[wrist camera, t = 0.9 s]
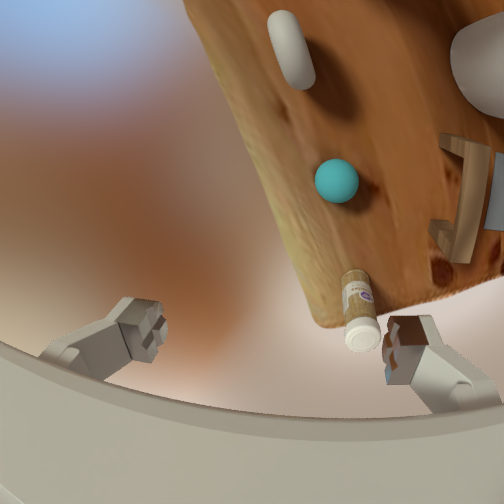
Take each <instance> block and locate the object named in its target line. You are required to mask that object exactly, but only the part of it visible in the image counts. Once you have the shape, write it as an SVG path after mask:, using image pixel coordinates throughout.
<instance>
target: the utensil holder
mask: <svg viewBox="0 0 504 504" xmlns="http://www.w3.org/2000/svg"><path fill="white" fill-rule="evenodd" d="M450 62H451V68H452V72H453V76H454V78H455V81H456V83H457V85H458V87H459V89H460V91H461V92H462V94H463V95H464V97H465V98H466V99H467V100H468V101H469V102H470V103H471V104H472V105H473V106H474V107H475V108H476V109H478V110H479V111H481V112H483V113H485V114H487V115H490V116H494V117H498V118H501V119H504V11H502V12H500V13H497V14H495V15H492V16H489V17H487V18H484V19H482V20H479V21H477V22H475V23H473V24H470V25H468V26H466V27H464V28H463V29H461V30H460V31H459V32H458V33H457V34H456V36H455V37H454V39H453V42H452V45H451V49H450Z"/></svg>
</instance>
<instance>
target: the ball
mask: <svg viewBox="0 0 504 504" xmlns="http://www.w3.org/2000/svg"><path fill="white" fill-rule="evenodd" d="M315 185H316V188H317V191H318V192H319V194H320V195H321V196H322V197H323V198H324V199H326V200H327V201H329V202H333V203H342V202H345V201H348V200H349V199H351V198H352V197H353V196H354V195H355V193H356V191H357V189H358V185H359V179H358V175H357V172H356V170H355V169H354V167H353V166H352V165H351V164H349V163H348V162H346V161H344V160H341V159H332V160H328V161H326V162H325V163H323V164H322V165H321V166H320V167H319V168H318V170H317V172H316V176H315Z"/></svg>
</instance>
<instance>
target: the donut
mask: <svg viewBox="0 0 504 504" xmlns="http://www.w3.org/2000/svg"><path fill="white" fill-rule="evenodd" d="M267 26H268V31H269V35H270V39H271V42H272V45H273V48H274V51H275V54H276V57H277V60H278V63H279V65H280V68H281V70H282V73H283V75H284V77H285V79H286V81H287V83H288V84H289V85H290V86H291V87H292V88H294V89H297V90H306V89H308V88H310V87H311V86H312V85H313V84H314V82H315V78H316V76H315V71H314V67H313V63H312V60H311V57H310V54H309V50H308V47H307V44H306V41H305V38H304V35H303V33H302V30H301V27H300V24H299V22H298V20H297V18H296V16H295V15H294V14H293V13H291V12H289V11H285V10H279V11H276V12H274V13H272V14H271V15H270V17H269V18H268V23H267Z"/></svg>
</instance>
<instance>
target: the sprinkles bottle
mask: <svg viewBox="0 0 504 504" xmlns="http://www.w3.org/2000/svg"><path fill="white" fill-rule="evenodd" d="M341 287H342V299H343V311H344V319H345V329H344V340H345V344H346V346H347V347H348V349H350V350H351V351H353V352H358V353H364V352H368V351H371V350H372V349H374V348H376V347H377V346H378V344H379V343H380V340H381V331H380V326H379V324H378V322H377V317H376V312H375V307H374V300H373V295H372V291H371V288H370V283H369V277H368V275H367V274H366V273H365V272H364V271H362V270H360V269H353V270H350V271H348V272H346V273H345V274H344V275H343V277H342V278H341Z"/></svg>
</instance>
